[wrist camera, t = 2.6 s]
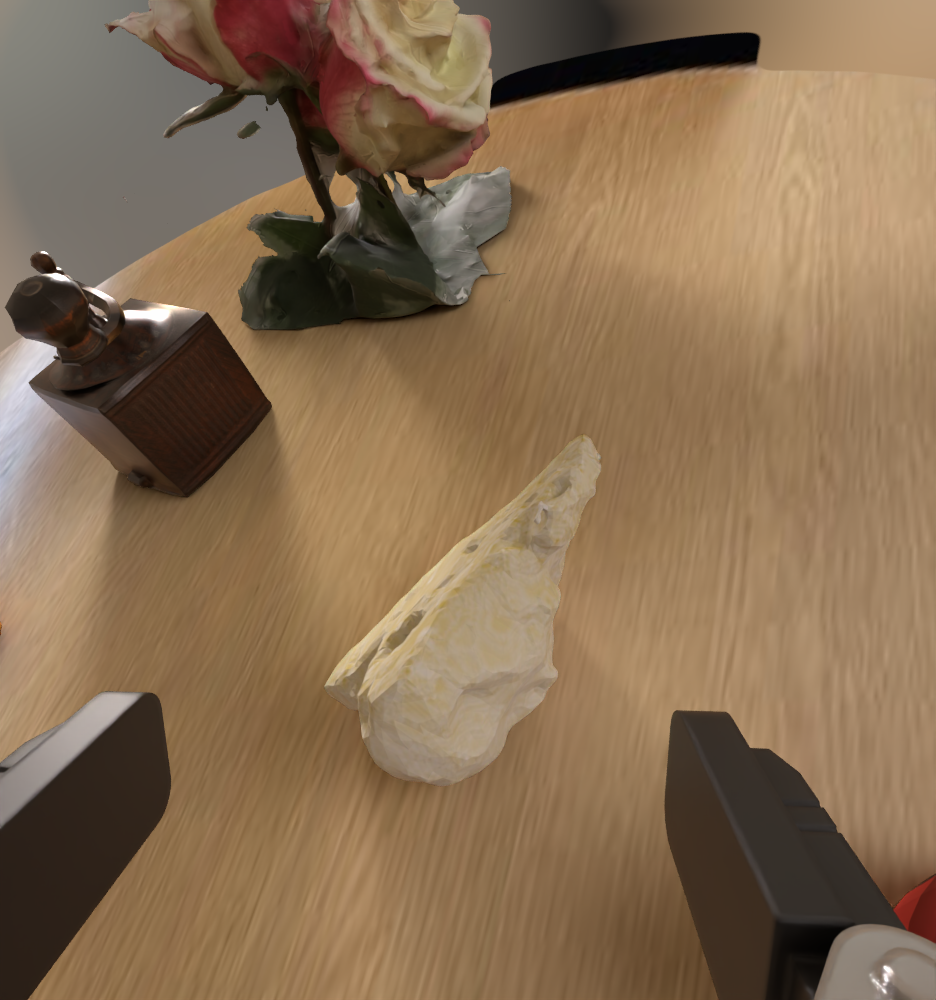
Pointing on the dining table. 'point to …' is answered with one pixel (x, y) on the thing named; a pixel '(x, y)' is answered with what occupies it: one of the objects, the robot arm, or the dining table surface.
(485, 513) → the dining table surface
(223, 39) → the rose bouquet
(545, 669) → the cream rock
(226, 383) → the manual coffee grinder
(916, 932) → the canned food
